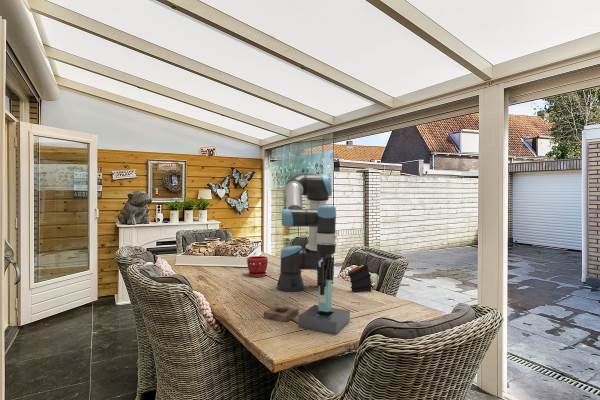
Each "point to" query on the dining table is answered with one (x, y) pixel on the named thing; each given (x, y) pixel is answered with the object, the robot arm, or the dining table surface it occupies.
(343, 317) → the port
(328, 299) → the peg
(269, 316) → the brown flat piece
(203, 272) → the dining table surface
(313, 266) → the robot arm
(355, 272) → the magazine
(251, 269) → the plant pot
